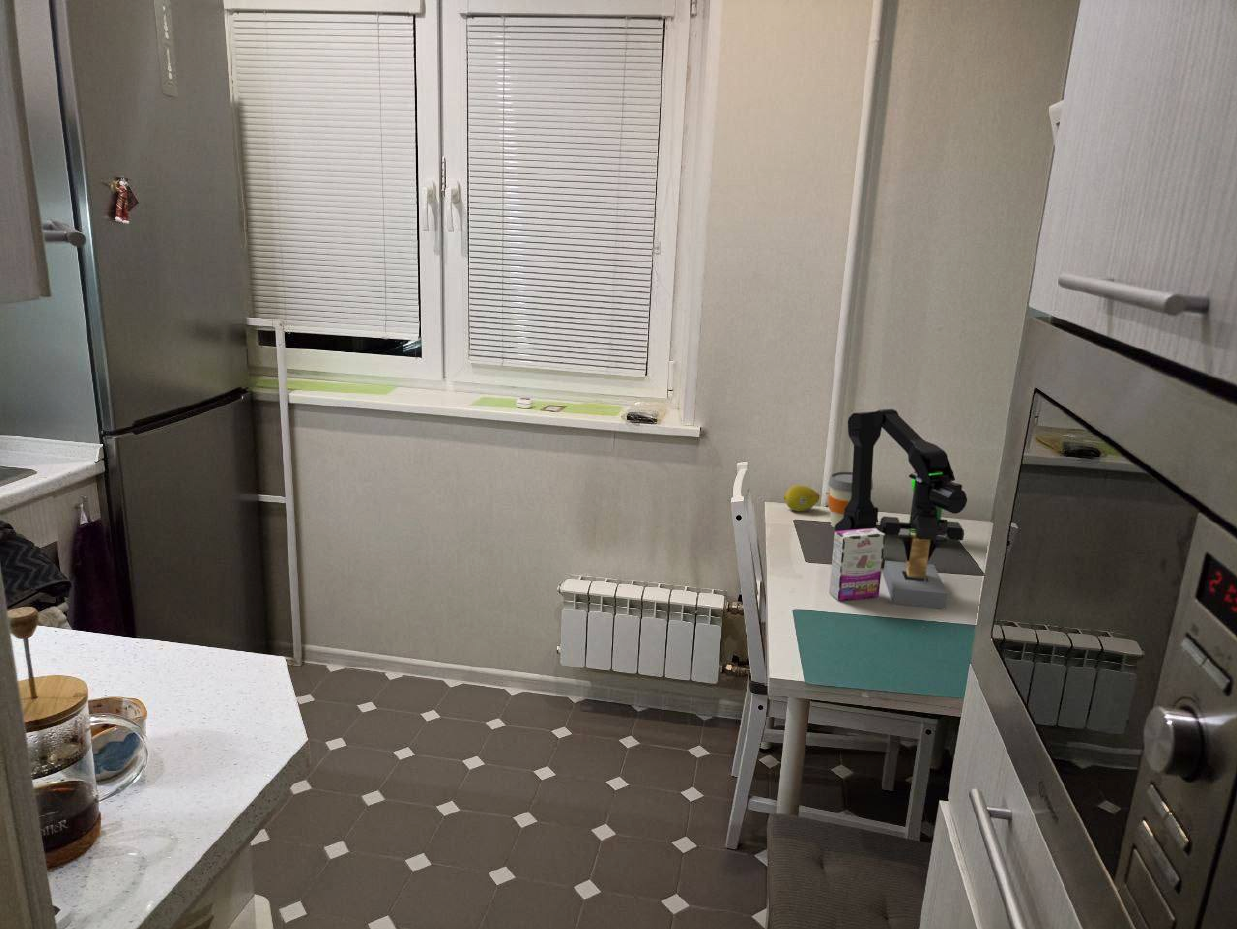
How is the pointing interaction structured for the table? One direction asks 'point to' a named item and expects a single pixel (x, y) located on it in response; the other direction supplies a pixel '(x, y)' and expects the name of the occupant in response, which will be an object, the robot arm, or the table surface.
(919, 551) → the peg
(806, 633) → the table surface
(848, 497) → the reusable coffee cup
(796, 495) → the lemon
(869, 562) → the candy bar box
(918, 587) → the socket block
